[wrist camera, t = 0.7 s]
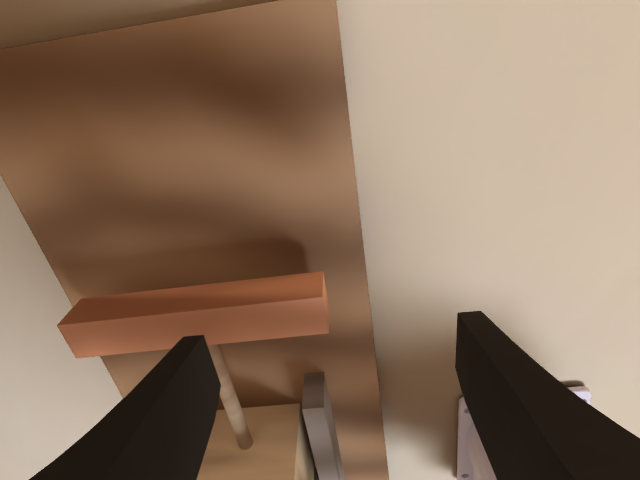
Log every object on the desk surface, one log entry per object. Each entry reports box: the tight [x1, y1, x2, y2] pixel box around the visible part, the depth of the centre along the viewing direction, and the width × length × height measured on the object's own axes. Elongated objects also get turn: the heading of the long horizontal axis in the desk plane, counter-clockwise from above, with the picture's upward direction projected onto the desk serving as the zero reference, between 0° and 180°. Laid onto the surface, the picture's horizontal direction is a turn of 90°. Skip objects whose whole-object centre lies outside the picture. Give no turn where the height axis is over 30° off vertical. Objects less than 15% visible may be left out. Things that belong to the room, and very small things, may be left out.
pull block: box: [57, 271, 329, 480], centre depth 22 cm, size 16×12×6 cm
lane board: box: [0, 0, 389, 480], centre depth 22 cm, size 32×16×4 cm, turn 8°
